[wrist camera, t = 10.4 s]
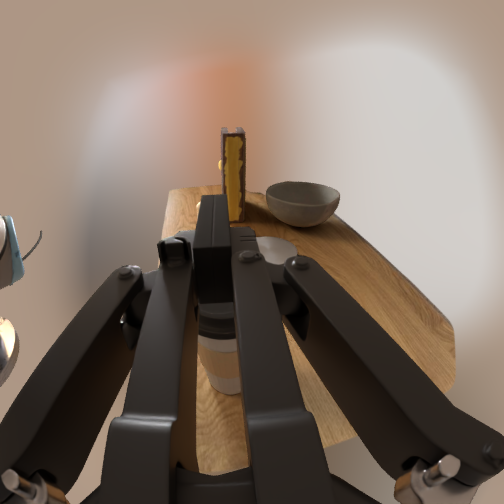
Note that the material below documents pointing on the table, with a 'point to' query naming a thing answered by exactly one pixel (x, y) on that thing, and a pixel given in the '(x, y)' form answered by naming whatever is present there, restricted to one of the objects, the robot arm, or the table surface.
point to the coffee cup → (219, 346)
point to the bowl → (302, 203)
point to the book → (234, 172)
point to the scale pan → (276, 249)
